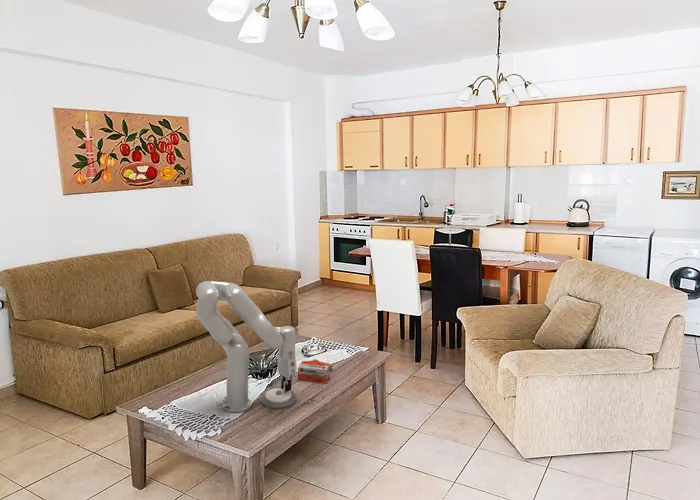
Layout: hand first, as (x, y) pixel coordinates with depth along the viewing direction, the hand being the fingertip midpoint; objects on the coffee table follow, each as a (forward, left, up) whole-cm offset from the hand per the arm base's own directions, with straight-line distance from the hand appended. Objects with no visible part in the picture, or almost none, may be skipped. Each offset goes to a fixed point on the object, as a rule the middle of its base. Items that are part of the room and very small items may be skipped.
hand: (286, 389), depth 243 cm
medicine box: (+23, +10, -5) cm, 25 cm away
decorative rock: (+32, +18, -5) cm, 37 cm away
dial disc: (-3, 0, -3) cm, 4 cm away
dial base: (-4, 0, -4) cm, 6 cm away
